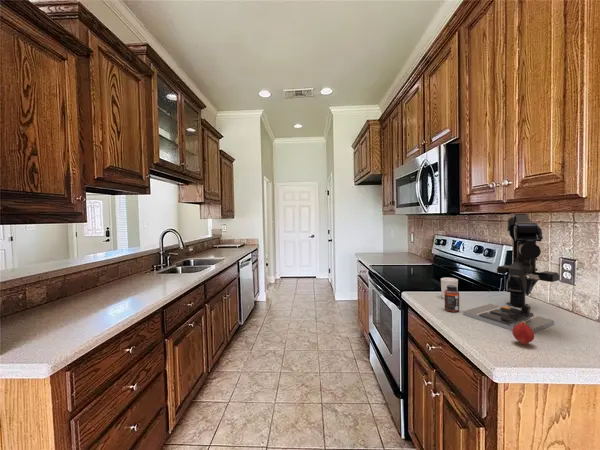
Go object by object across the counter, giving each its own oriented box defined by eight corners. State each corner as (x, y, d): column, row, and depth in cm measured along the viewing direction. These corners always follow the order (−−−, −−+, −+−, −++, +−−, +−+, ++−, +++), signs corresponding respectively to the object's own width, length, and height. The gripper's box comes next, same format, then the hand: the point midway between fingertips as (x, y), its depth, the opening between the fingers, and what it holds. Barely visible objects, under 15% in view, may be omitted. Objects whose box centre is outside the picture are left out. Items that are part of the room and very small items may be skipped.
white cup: (442, 295, 153) (442, 276, 153) (458, 297, 149) (458, 278, 148) (439, 299, 147) (439, 279, 146) (456, 301, 142) (456, 281, 142)
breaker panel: (490, 306, 133) (490, 296, 133) (554, 324, 112) (554, 311, 112) (463, 314, 124) (463, 303, 124) (526, 335, 103) (527, 321, 103)
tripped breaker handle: (504, 312, 120) (504, 305, 119) (510, 313, 117) (510, 307, 117) (501, 312, 119) (501, 306, 119) (508, 314, 117) (508, 308, 117)
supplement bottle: (461, 312, 127) (461, 287, 126) (446, 312, 128) (446, 287, 127) (456, 308, 133) (456, 284, 132) (442, 307, 134) (442, 284, 133)
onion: (508, 341, 99) (508, 318, 99) (523, 340, 99) (523, 317, 99) (522, 349, 93) (522, 324, 93) (538, 347, 94) (539, 323, 93)
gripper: (488, 254, 115) (488, 292, 116) (545, 260, 99) (544, 304, 100) (504, 251, 120) (504, 288, 121) (560, 257, 104) (559, 299, 105)
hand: (525, 294), depth 111 cm, fingers closed
